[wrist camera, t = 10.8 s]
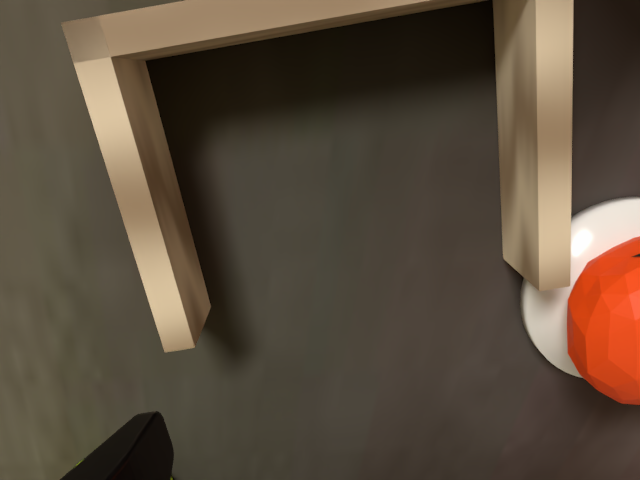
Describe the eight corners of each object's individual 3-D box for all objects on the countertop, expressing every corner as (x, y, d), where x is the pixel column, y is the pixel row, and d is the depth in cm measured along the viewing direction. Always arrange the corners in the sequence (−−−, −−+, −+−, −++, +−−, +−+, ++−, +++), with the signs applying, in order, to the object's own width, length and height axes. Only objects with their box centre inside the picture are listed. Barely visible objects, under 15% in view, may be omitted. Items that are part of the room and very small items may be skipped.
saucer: (700, 355, 24) (713, 364, 23) (521, 383, 24) (529, 393, 23) (721, 180, 21) (737, 184, 20) (517, 214, 21) (525, 219, 20)
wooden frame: (529, 254, 22) (570, 286, 18) (185, 310, 22) (165, 352, 19) (523, -42, 18) (574, -69, 14) (105, 32, 18) (60, 22, 15)
